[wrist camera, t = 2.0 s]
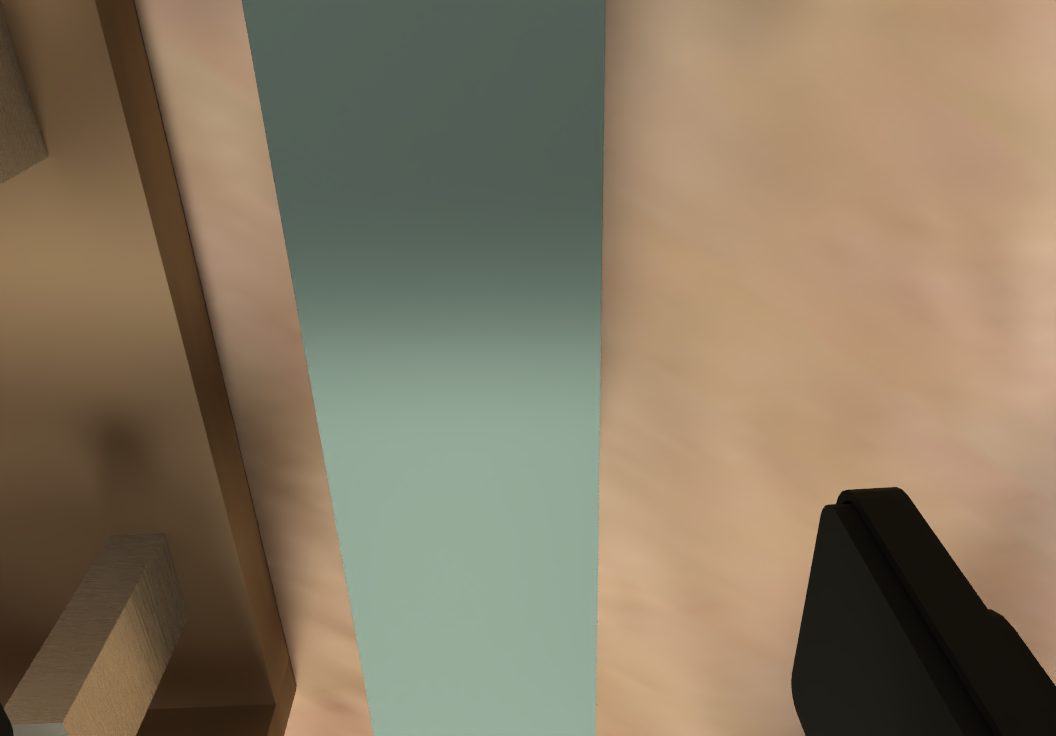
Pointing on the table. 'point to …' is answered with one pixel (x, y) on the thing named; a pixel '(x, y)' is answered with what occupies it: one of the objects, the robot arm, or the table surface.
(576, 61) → the pale teal rectangular block
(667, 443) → the table surface
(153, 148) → the cabinet base
